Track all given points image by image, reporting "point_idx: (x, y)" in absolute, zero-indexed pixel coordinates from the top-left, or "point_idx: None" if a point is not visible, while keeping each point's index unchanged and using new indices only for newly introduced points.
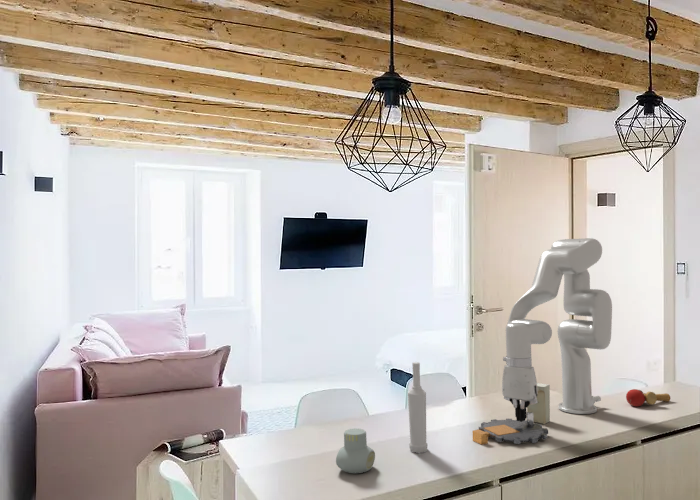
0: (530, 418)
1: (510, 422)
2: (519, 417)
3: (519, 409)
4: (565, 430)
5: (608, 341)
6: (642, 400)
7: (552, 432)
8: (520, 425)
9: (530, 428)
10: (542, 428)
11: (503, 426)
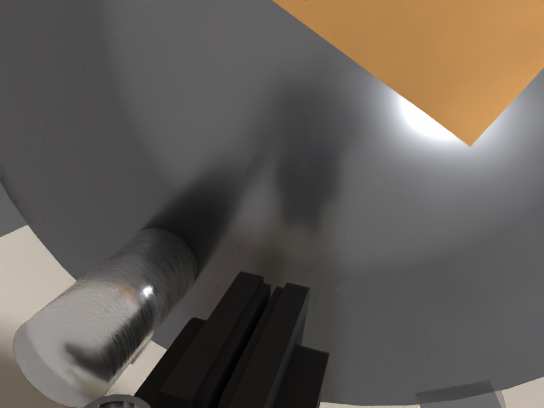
0: (82, 278)
1: (413, 299)
2: (249, 307)
3: (190, 395)
4: (8, 371)
5: None
6: None
7: (50, 295)
8: (257, 225)
9: (117, 159)
10: (27, 216)
11: (456, 34)
